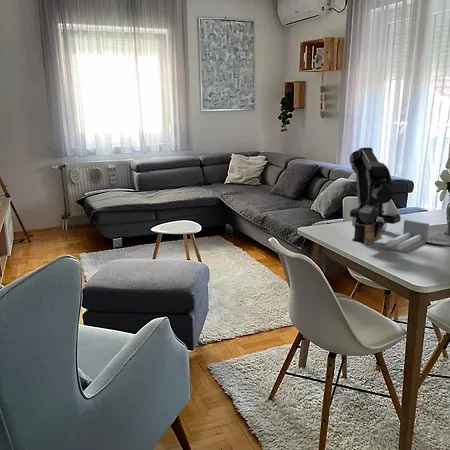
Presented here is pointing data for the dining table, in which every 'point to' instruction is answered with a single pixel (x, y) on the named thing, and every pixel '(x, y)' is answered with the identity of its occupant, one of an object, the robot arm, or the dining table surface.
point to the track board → (409, 237)
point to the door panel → (371, 233)
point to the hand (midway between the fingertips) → (373, 236)
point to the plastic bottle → (384, 214)
